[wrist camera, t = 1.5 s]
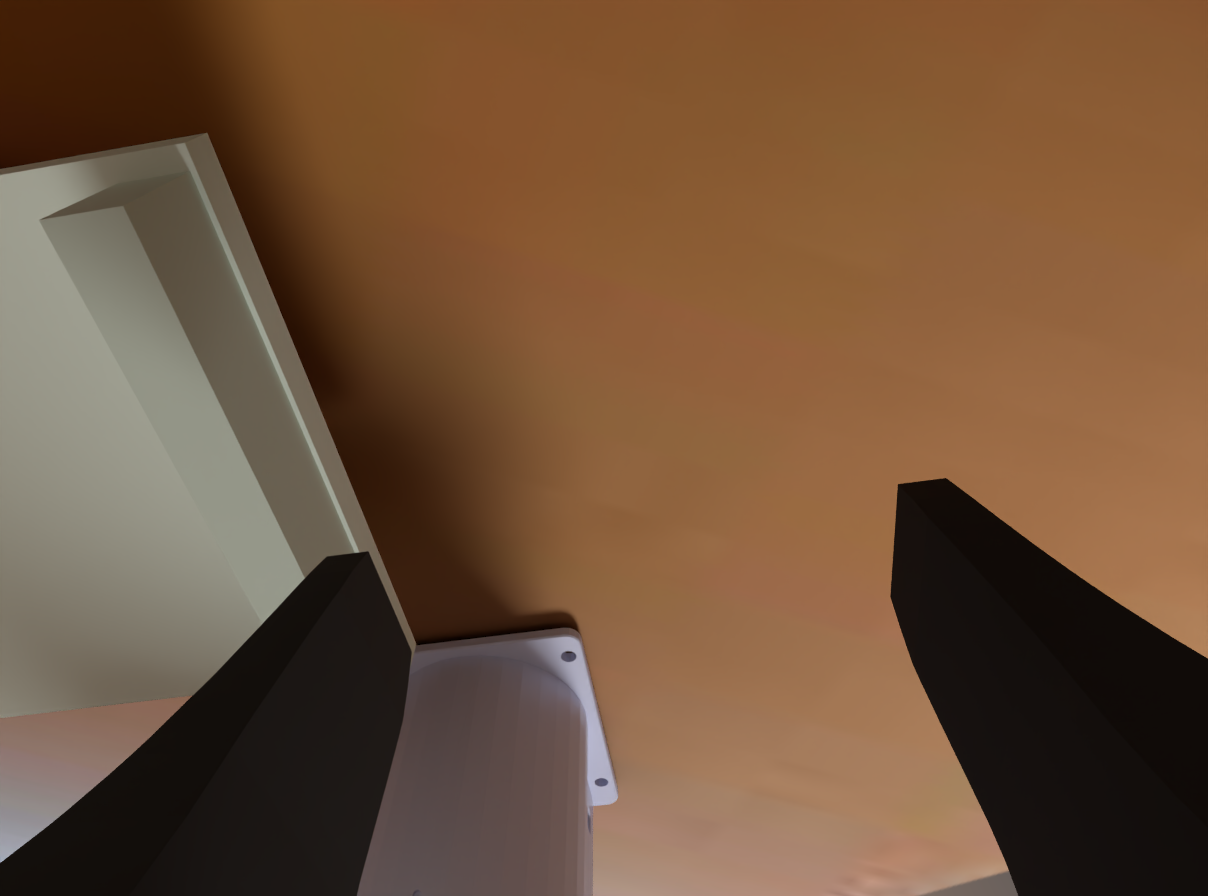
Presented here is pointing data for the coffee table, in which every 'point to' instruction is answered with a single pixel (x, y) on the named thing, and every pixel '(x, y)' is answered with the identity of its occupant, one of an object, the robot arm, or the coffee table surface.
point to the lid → (148, 433)
